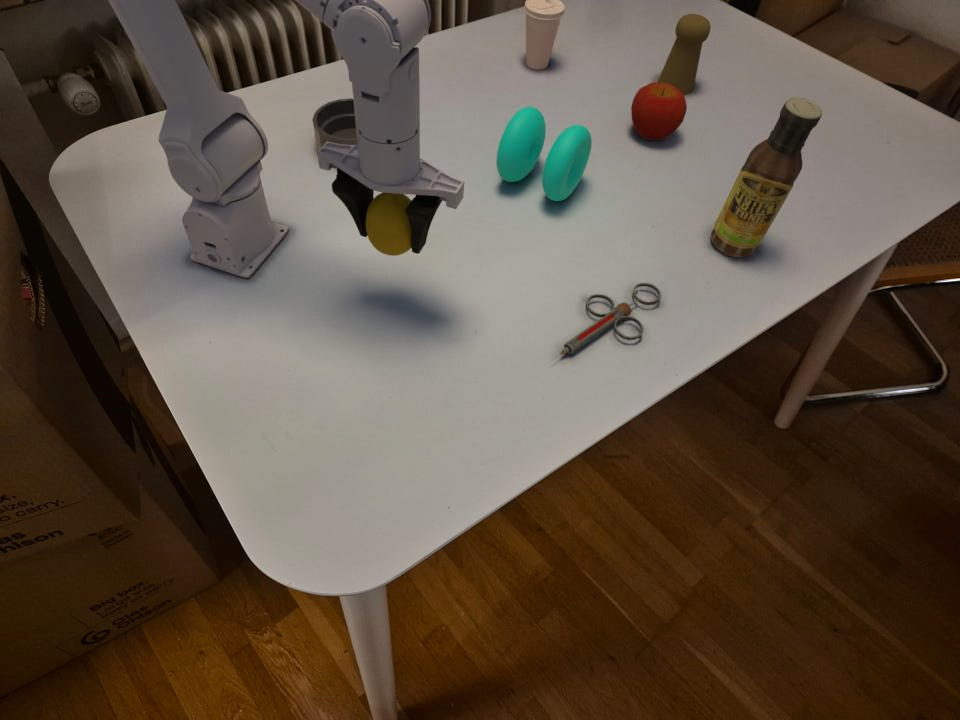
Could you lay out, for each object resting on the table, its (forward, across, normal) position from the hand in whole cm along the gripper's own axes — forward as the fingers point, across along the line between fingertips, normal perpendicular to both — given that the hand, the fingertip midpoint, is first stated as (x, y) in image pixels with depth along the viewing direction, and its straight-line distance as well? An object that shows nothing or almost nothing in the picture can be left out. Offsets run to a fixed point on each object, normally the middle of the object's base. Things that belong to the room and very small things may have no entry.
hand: (393, 239), depth 71 cm
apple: (+9, -21, -46) cm, 51 cm away
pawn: (+9, -22, -62) cm, 66 cm away
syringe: (+9, -24, -5) cm, 26 cm away
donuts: (+9, -9, -27) cm, 30 cm away
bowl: (+9, +18, -24) cm, 31 cm away
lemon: (+2, 0, 0) cm, 2 cm away
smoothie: (+9, +1, -58) cm, 59 cm away
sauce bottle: (+9, -36, -26) cm, 45 cm away
